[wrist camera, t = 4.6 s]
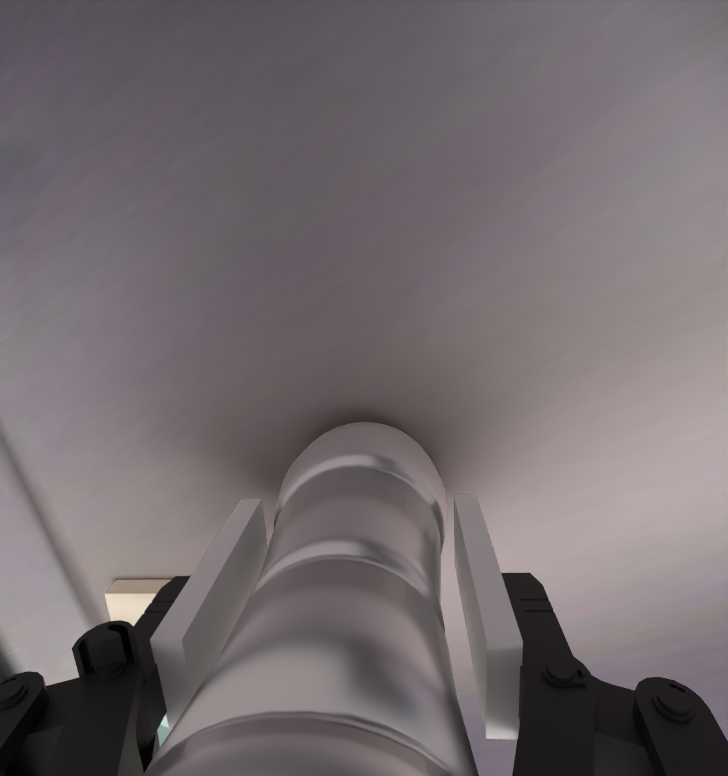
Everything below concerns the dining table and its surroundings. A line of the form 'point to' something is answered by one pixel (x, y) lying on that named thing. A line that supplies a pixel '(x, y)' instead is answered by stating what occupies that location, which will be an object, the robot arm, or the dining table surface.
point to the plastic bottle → (337, 630)
